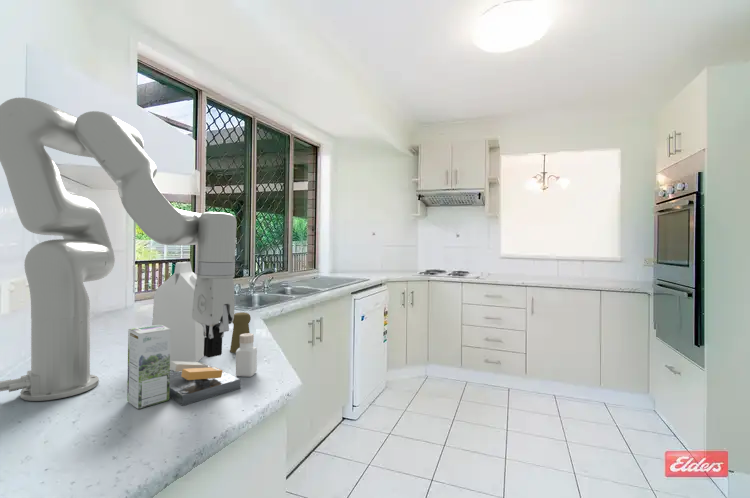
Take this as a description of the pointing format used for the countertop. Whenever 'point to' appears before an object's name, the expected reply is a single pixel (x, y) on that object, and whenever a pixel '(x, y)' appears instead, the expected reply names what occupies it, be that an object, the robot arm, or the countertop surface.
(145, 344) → the syrup box
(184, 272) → the milk
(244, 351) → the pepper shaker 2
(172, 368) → the rocker white
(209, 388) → the breaker panel
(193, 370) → the rocker orange
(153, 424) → the countertop surface
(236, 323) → the pepper shaker
